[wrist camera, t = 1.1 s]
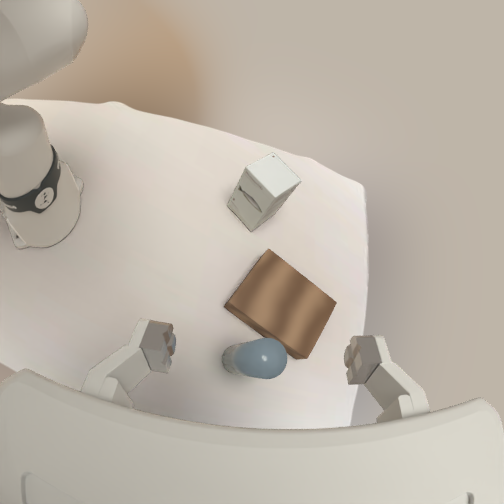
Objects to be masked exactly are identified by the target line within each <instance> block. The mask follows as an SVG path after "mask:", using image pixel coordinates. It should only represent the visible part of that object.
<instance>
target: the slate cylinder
mask: <svg viewBox="0 0 504 504" xmlns="http://www.w3.org/2000/svg"><path fill="white" fill-rule="evenodd" d="M222 362H223V365H224V367H225V369H226V370H227V371H228V372H230V373H232V374H237V375H243V376H249V377H255V378H262V379H272V378H275V377H277V376H278V375H280V374H281V373H282V372H283V370H284V369H285V367H286V364H287V353H286V350H285V348H284V346H283V345H282V344H281V343H280V342H279V341H277V340H275V339H272V338H262V339H258V340H254V341H250V342H246V343H242V344H237V345H233V346H230V347H229V348H227V349H226V350H225V352H224V354H223V357H222Z"/></svg>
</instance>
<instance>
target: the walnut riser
mask: <svg viewBox="0 0 504 504" xmlns="http://www.w3.org/2000/svg"><path fill="white" fill-rule="evenodd" d="M336 303H337V302H336V301H334V300H333V299H332V298H331V297H329V296H328V295H327V294H326V293H324V292H323V291H322V290H321V289H319V288H318V287H317V286H316V285H314V284H313V283H312V282H311V281H309V280H308V279H307V278H306V277H304V276H303V275H302V274H300V273H299V272H298V271H297V270H295V269H294V268H293V267H292V266H290V265H289V264H288V263H287V262H285V261H284V260H283V259H281V258H280V257H279V256H278V255H276V254H275V253H274V252H273V251H271V250H270V249H268V250H267V251H266V252H265V253H264V254H263V255H262V256H261V257H260V259H259V260H258V261H257V263H256V264H255V265H254V267H253V268H252V269H251V271H250V272H249V274H248V275H247V276H246V278H245V279H244V280H243V282H242V283H241V284H240V286H239V287H238V288H237V290H236V291H235V292H234V294H233V295H232V296H231V298H230V299H229V300H228V302H227V303H226V304H225V306H224V307H225V308H226V309H227V310H228V311H230V312H231V313H232V314H234V315H235V316H236V317H238V318H239V319H240V320H242V321H243V322H244V323H246V324H247V325H249V326H250V327H251V328H253V329H254V330H255V331H257V332H258V333H260V334H261V335H262V336H264V337H265V338H272V339H275V340H277V341H279V342H280V343H281V344H282V345H283V346H284V348H285V350H286V353H288V354H289V355H291V356H292V357H294V358H295V359H307V358H308V356H309V355H310V353H311V351H312V349H313V347H314V346H315V344H316V342H317V340H318V338H319V336H320V335H321V333H322V331H323V329H324V327H325V325H326V323H327V321H328V319H329V317H330V315H331V313H332V311H333V309H334V307H335V305H336Z"/></svg>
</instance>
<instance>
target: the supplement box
mask: <svg viewBox="0 0 504 504" xmlns="http://www.w3.org/2000/svg"><path fill="white" fill-rule="evenodd" d="M300 182H301V179H300V178H299V177H298V176H297V175H296V174H295V173H294V172H293V171H292V170H291V169H290V168H289V167H288V166H287V165H286V164H285V163H284V162H283V161H282V160H281V159H280V158H279V157H278V156H277V155H276V154H275V153H274V152H272V153H271V154H269V155H267V156H265V157H263V158H261V159H259V160H257V161H255V162H254V163H252V164H250V165H248V166H246V168H245V170H244V172H243V174H242V176H241V178H240V180H239V182H238V184H237V186H236V188H235V190H234V193H233V195H232V197H231V199H230V201H229V203H228V205H227V206H228V207H229V208H230V209H231V210H232V211H233V212H234V213H235V214H236V215H237V216H238V217H239V219H240V220H241V221H242V222H243V223H244V224H245V225H246V227H247V228H248V229H249V230H250V231H251V232H252V231H253V230H254V229H256V228H257V227H258V226H260V225H261V224H262V223H264V222H265V221H266V220H268V219H269V218H270V217H272V216H273V215H274V214H275V213H276V212H277V211H278V209H279V208H280V207H281V206H282V205H283V203H284V202H285V201H286V200H287V198H288V197H289V196H290V194H291V193H292V192H293V191H294V189H295V188H296V187H297V186H298V185H299V183H300Z"/></svg>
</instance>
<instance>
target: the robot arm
mask: <svg viewBox="0 0 504 504" xmlns="http://www.w3.org/2000/svg"><path fill="white" fill-rule="evenodd" d="M87 30H88V18H87V14H86V11H85V9H84V7H83V6H82V4H81V3H80V2H79V1H78V0H0V102H1V101H3V100H5V99H6V98H8V97H10V96H12V95H14V94H16V93H18V92H20V91H22V90H24V89H26V88H28V87H30V86H33V85H35V84H37V83H39V82H41V81H42V80H44V79H46V78H47V77H49V76H51V75H53V74H54V73H56V72H58V71H59V70H61V69H62V68H64V67H66V66H68V65H70V64H71V63H73V61H74V60H75V59H76V57H77V56H78V54H79V53H80V51H81V49H82V47H83V45H84V42H85V39H86V36H87ZM83 186H84V183H83V181H82V180H81V179H80V178H78V177H77V176H75V175H73V174H72V172H71V170H70V168H69V166H68V164H67V163H64V162H62V161H60V160H59V158H58V155H57V153H56V151H55V149H54V147H53V146H52V145H51V144H50V142H49V139H48V135H47V132H46V129H45V125H44V122H43V119H42V117H41V115H40V114H39V113H38V112H37V111H36V110H34V109H33V108H31V107H29V106H25V105H6V104H3V103H0V211H1V212H2V215H3V217H4V219H5V220H6V221H7V224H8V227H9V230H10V233H11V236H12V239H13V241H14V244H15V246H16V247H17V248H18V249H23V248H26V247H29V246H33V247H39V248H43V247H49V246H52V245H54V244H56V243H58V242H59V241H61V240H62V239H64V238H65V237H66V236H67V235H68V234H69V233H70V231H71V230H72V229H73V227H74V226H75V224H76V222H77V219H78V217H79V213H80V194H81V192H82V189H83ZM18 237H19V238H18ZM17 238H18V239H17ZM172 332H173V325H172V324H169V323H164V322H158V321H153V320H147V319H140V320H139V321H138V323H137V325H136V328H135V330H134V332H133V334H132V337H131V339H130V341H129V344H128V345H124V346H123V347H121V348H120V349H119V350H117V351H116V352H114V353H113V354H112V355H110V356H109V357H107V358H106V359H105V360H103V361H102V362H100V363H99V364H97V365H96V366H95V367H93V368H92V369H90V371H89V373H88V375H87V377H86V380H85V382H84V384H83V387H82V389H81V391H80V392H79V391H77V390H74V389H72V388H69V387H67V386H64V385H62V384H60V383H57V382H55V381H53V380H50V379H48V378H46V377H44V376H42V375H40V374H38V373H36V372H34V371H32V370H29V369H23V370H20V371H18V372H16V373H15V374H13V375H11V376H9V377H8V378H6V379H5V380H4V381H3V382H2V383H1V384H0V504H504V432H503V427H502V423H501V419H500V416H499V414H498V412H497V410H496V409H495V408H494V407H493V406H492V405H490V404H489V403H488V402H487V401H486V400H484V399H483V398H475V399H472V400H469V401H467V402H464V403H461V404H458V405H454V406H451V407H448V408H444V409H441V410H437V411H433V412H430V409H429V405H428V402H427V398H426V395H425V392H424V390H423V389H422V388H421V387H420V386H419V385H418V384H417V383H416V382H415V381H414V380H413V379H411V378H410V377H409V376H408V375H407V374H406V373H405V372H404V371H403V370H402V369H401V368H400V367H399V366H398V365H397V364H396V363H392V361H391V358H390V354H389V352H388V349H387V345H386V342H385V339H384V337H383V336H382V335H376V336H372V335H368V336H353V337H352V338H351V340H350V345H349V346H347V347H346V350H345V353H344V363H345V366H346V367H347V368H348V371H347V373H346V374H347V380H348V385H353V384H364V385H365V387H366V388H367V389H368V390H369V392H370V393H371V394H372V396H373V397H374V398H375V399H376V401H377V402H378V403H379V405H380V406H381V407H382V408H383V410H384V412H382V413H381V414H380V415H379V416H378V417H377V418H376V421H377V423H374V424H366V425H359V426H349V427H338V428H323V429H257V428H242V427H231V426H221V425H213V424H206V423H199V422H192V421H186V420H181V419H175V418H170V417H165V416H161V415H156V414H152V413H148V412H143V411H139V410H136V409H133V407H134V404H133V402H132V400H131V399H130V398H129V396H128V395H127V394H128V393H129V392H130V391H131V390H132V389H133V388H134V387H135V386H137V385H138V384H139V383H140V382H141V381H142V380H143V379H144V378H145V377H146V376H147V375H148V374H149V373H150V372H151V371H157V372H163V373H168V372H169V369H170V365H171V358H170V356H172V355H173V354H174V351H175V346H176V338H175V335H174V334H173V333H172Z"/></svg>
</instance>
